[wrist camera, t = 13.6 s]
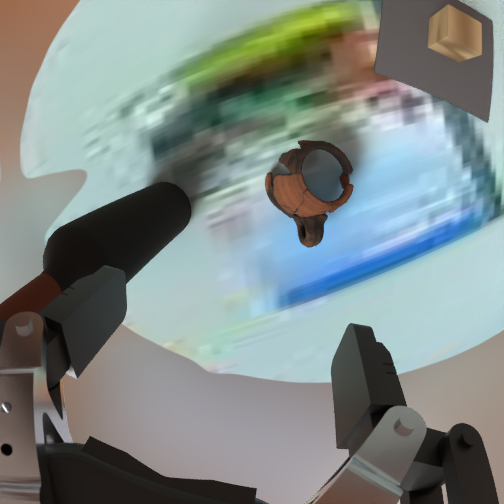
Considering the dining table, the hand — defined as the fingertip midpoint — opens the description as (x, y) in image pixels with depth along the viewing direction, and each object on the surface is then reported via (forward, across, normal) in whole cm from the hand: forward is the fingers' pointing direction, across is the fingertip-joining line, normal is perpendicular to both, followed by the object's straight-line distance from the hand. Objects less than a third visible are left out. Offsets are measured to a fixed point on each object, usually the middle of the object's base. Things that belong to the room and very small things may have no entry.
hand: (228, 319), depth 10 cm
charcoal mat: (+28, -18, -26) cm, 42 cm away
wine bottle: (+28, +14, +6) cm, 32 cm away
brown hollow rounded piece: (+28, -4, 0) cm, 29 cm away
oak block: (+28, -18, -26) cm, 42 cm away
